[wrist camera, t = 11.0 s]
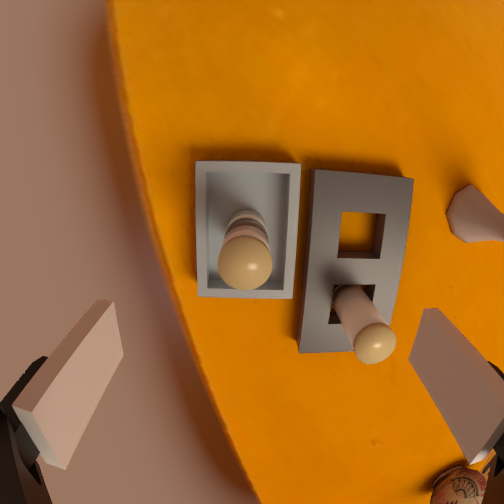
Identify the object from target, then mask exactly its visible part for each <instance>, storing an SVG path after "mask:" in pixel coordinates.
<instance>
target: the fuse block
mask: <svg viewBox="0 0 504 504" xmlns="http://www.w3.org/2000/svg"><path fill="white" fill-rule="evenodd" d="M413 183H414V179H411V178H407V177H402V176H394V175H385V174H375V173H365V172H355V171H343V170H330V169H316V168H311V171H310V190H309V207H308V222H307V236H306V249H305V261H304V272H303V284H302V294H301V304H300V314H299V323H298V333H297V341H296V342H297V346H298V351H299V353H321V352H347V351H354V349H353V347H352V345H351V343H350V340H349V338H348V336H347V334H346V332H345V330H344V328H343V326H342V324H341V322H340V319H339V317H338V315H337V314H330V308H331V301H332V294H333V286H334V284H367V289H366V295H367V296H368V297H369V299H370V300H371V302H372V303H373V304H374V306H375V307H376V309H377V310H378V311H379V313H380V314H381V316H382V317H383V318H384V320H385V321H386V323H387V324H388V325H389V326H390V322H391V318H392V314H393V309H394V305H395V300H396V296H397V291H398V286H399V281H400V276H401V270H402V265H403V259H404V253H405V247H406V241H407V234H408V227H409V220H410V212H411V203H412V194H413ZM342 211H347V212H364V213H377V218H376V227H375V235H374V243H373V250H372V252H357V251H338V244H339V235H340V224H341V213H342Z"/></svg>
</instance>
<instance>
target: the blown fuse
mask: <svg viewBox="0 0 504 504" xmlns="http://www.w3.org/2000/svg"><path fill="white" fill-rule="evenodd" d="M217 265H218V271H219V274H220V276H221V278H222V279H223V280H224V282H225V283H227V284H228V285H229V286H231V287H233V288H235V289H239V290H252V289H255V288H257V287H259V286H261V285H262V284H264V283H265V282H266V280H267V279H268V278H269V276H270V274H271V271H272V258H271V252H270V247H269V241H268V235H267V230H266V224H265V221H264V219H263V217H262V216H261V215H260V214H259V213H258V212H256V211H254V210H250V209H244V210H240V211H238V212H236V213H235V214H233V216H232V217H231V218H230V220H229V223H228V226H227V230H226V233H225V237H224V240H223V243H222V247H221V250H220V254H219V257H218V264H217Z"/></svg>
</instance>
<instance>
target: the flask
mask: <svg viewBox="0 0 504 504" xmlns="http://www.w3.org/2000/svg"><path fill="white" fill-rule="evenodd" d="M447 218H448V221H449V224H450V228H451V231H452V234H453V235H455V236H456V237H458V238H459V239H461V240H462V241H464V242H465V243H469V242H477V241H487V240H498V241H503V242H504V214H503V213H501V212H500V211H499V210H498V209H497V208H496V207H495V206H494V205H493V204H492V203H491V202H490V201H489V199H488V198H487V197H486V196H485V195H484V194H482V193H481V192H480V191H479V190H477V189H476V188H475V187H474V186H472V185H471V184H470V185H468V186H467V187H465V188H464V189H462V190H460V191H459V192H457V193H456V194H455V196H454V198H453V200H452V203H451V205H450V207H449V209H448V212H447Z"/></svg>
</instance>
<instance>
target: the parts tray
mask: <svg viewBox="0 0 504 504" xmlns="http://www.w3.org/2000/svg"><path fill="white" fill-rule="evenodd" d="M300 177H301V164H300V163H294V162H273V161H236V160H200V161H196V174H195V191H196V254H197V283H198V297H227V298H268V299H292V297H293V285H294V272H295V259H296V245H297V230H298V214H299V197H300ZM244 209H250V210H254V211H256V212H258V213H259V214H260V215H261V216H262V217H263V219H264V221H265V224H266V230H267V235H268V241H269V247H270V252H271V258H272V271H271V274H270V276H269V278H268V279H267V280H266V282H265V283H264V284H262V285H261V286H259V287H257V288H255V289H252V290H239V289H235V288H233V287H231V286H229V285H228V284H227V283H225V282H224V280H223V279H222V278H221V276H220V274H219V271H218V265H217V264H218V257H219V254H220V250H221V247H222V243H223V240H224V237H225V233H226V230H227V226H228V223H229V220H230V218H231V217H232V216H233V214H235V213H236V212H238V211H240V210H244Z"/></svg>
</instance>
